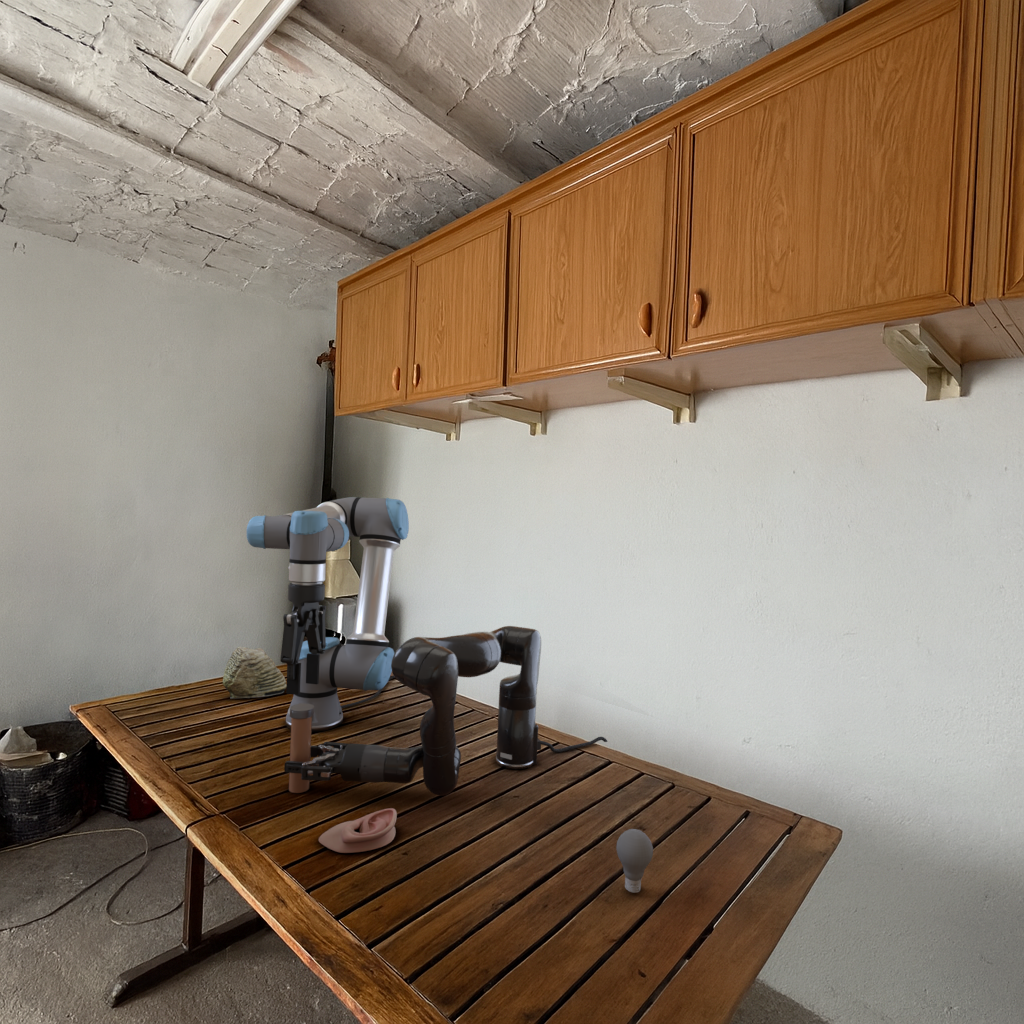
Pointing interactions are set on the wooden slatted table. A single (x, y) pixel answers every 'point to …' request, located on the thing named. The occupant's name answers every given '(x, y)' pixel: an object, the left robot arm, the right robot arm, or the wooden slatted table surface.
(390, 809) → the anatomical model
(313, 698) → the left robot arm
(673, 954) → the wooden slatted table surface
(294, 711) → the lid
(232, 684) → the fossil
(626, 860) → the light bulb
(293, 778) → the pinkish brown cylinder
